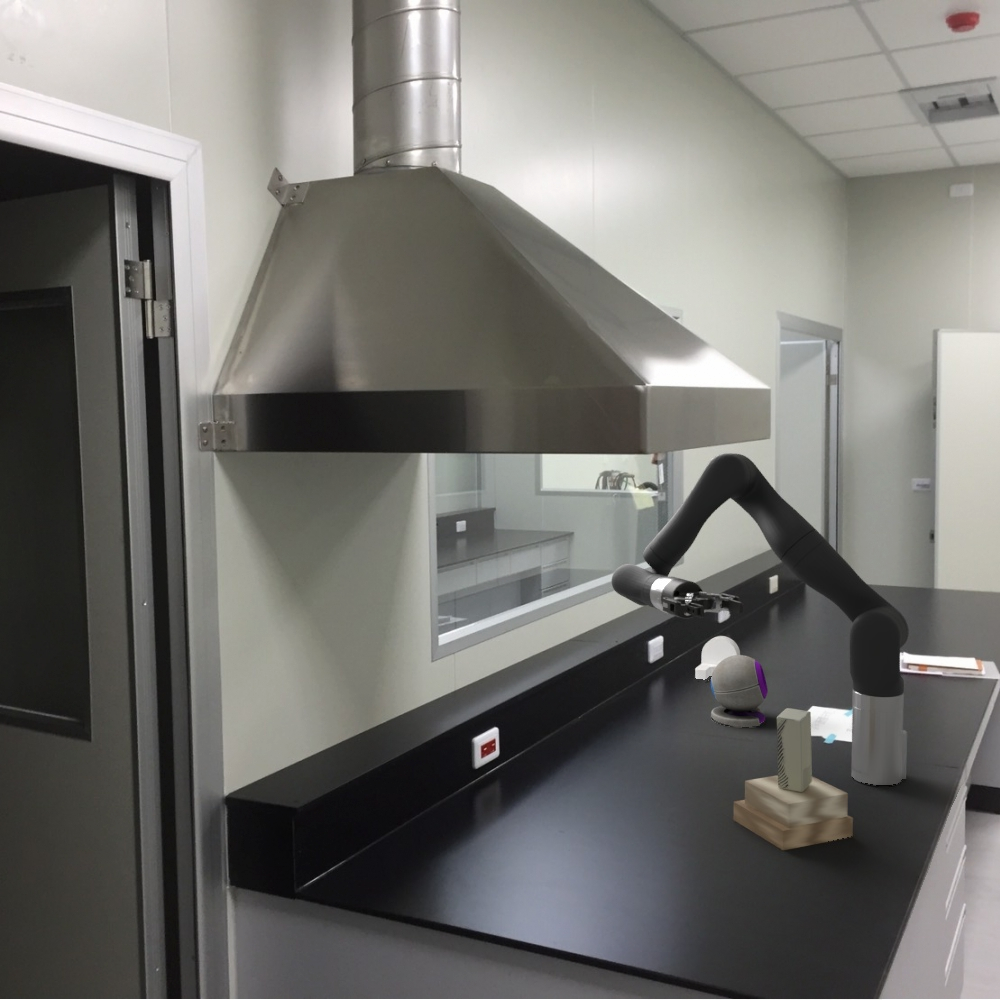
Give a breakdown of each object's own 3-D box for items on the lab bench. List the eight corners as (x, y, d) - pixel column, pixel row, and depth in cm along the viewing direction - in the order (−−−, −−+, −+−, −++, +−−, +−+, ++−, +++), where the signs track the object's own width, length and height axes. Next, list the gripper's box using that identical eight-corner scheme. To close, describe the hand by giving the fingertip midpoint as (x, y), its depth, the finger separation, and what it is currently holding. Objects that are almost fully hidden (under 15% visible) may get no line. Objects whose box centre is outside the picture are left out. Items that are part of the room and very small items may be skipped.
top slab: (801, 793, 188) (801, 771, 188) (847, 816, 177) (847, 793, 177) (744, 803, 184) (745, 780, 184) (788, 828, 173) (788, 804, 172)
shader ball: (766, 729, 237) (767, 663, 236) (708, 725, 241) (708, 660, 239) (768, 713, 250) (768, 650, 248) (712, 710, 253) (713, 648, 252)
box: (788, 777, 184) (786, 706, 182) (813, 782, 181) (811, 710, 179) (776, 789, 179) (775, 716, 178) (802, 794, 177) (800, 720, 175)
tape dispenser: (745, 671, 292) (746, 632, 291) (730, 686, 275) (730, 645, 274) (711, 667, 296) (711, 629, 295) (694, 682, 280) (694, 642, 279)
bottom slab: (799, 812, 190) (799, 790, 190) (852, 841, 177) (852, 818, 177) (733, 823, 185) (733, 801, 185) (782, 854, 172) (783, 830, 172)
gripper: (645, 580, 210) (689, 593, 195) (706, 575, 216) (754, 587, 201) (645, 618, 211) (689, 633, 196) (706, 612, 216) (753, 626, 201)
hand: (722, 610), depth 198 cm, fingers open, 8 cm apart
